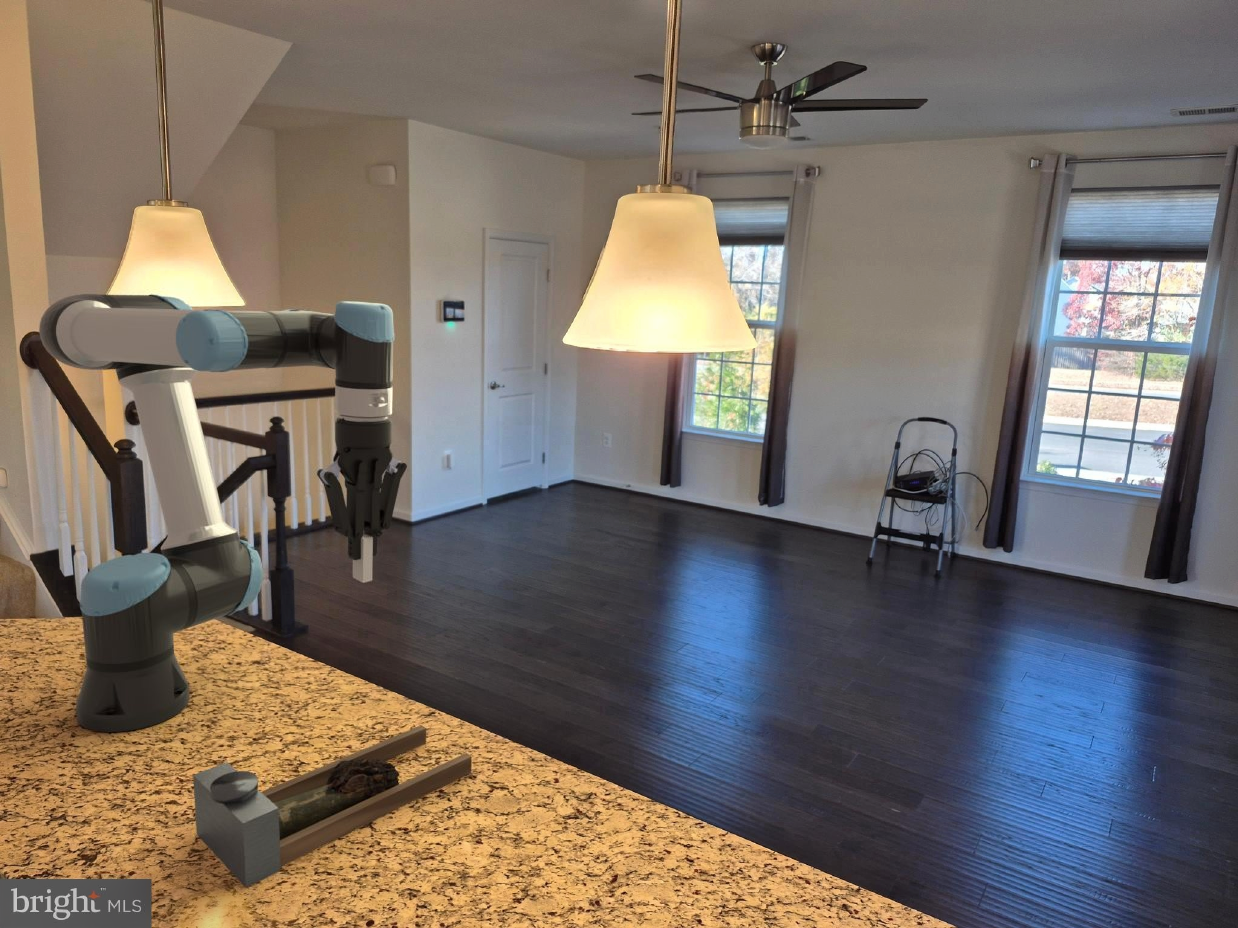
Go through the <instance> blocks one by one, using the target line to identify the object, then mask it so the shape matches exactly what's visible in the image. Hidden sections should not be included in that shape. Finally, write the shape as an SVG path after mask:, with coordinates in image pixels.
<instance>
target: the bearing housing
mask: <svg viewBox="0 0 1238 928" xmlns="http://www.w3.org/2000/svg"><path fill="white" fill-rule="evenodd" d="M192 776H193V777H192V778H193V779H192V780H193V794H194V797H193V798H194V811H195V828H196V829H195V830H196V836H197V837H198V838H199V839H200V840H201V841H202V842H203V843H204V844H205V846H206V847H207V848H208V849H209V850H210V851H211V852H212V853H213V854H214V855H215V856H216V857H217V858H218V859H219V861H220V862H221V863H222V864H223V865H224V866H225V867H226V868H227V869H228V870H229V871H230V872H231V874H232V875H233V876H234V877H235V878H236V879H237V880H238V881H239V882H240V883H241V884H242V885H243V886H244V888H245V889H247V888H249V887H251V886H253V885H255V884H257V883H258V882H261V881H263V880H265V879H266V878H268V877H271V876H273V875H275V874H277V873H279V872H281V870H282V866H281V863H280V836H279V809H278V807H277V806H276V805H275V804H274V803H272V802H271V801H270V800H269V799H268V798H267V797H266V796H265V795H263V794H262V793H261V792H262V791H260V790H259V778H258V775H257V774H255V773H253V772H250V771H247V770H236V769H235V768H234V767H233V766H232V765H231V764H230V763H229V762H228V761H226V762H224V763H221V764H218V765H215V766H213V767H211V768H208V769H206V770H202V771H200V772H197V773H195V774H193V775H192Z"/></svg>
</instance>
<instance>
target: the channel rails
mask: <svg viewBox="0 0 1238 928" xmlns="http://www.w3.org/2000/svg"><path fill="white" fill-rule="evenodd" d="M426 744H427V727H425V726H423V725H422V724H421V725H418V726H416V727H414V728H413V727H412V728H411V729H408V730H406V731H404V732H401V733H399V734H396V735H395V736H392V737H389V738H387V739H385V740H382V741H380V742H378V743H375V744H373V745H370V746H367V747H365V748H363V749H360V750H358V751H355V752H354V753H351V754H348V755H347V756H344V757H342V758H339V759H336V760H334V761H332V762H329V763H327V764H324V765H322V766H320V767H317V768H315V769H312V770H310V771H308V772H306V773H303V774H301V775H299V776H298V775H297V776H296V777H294V778H292V779H288V780H287V781H283V782H282V783H279V784H276V785H274V786H271V787H270V788H267V789H265V790H263V791H260V792H261V793H262V794H263V795H265V796H266V797H267V798H268V799H269V800H270V801H271V802H272V803H275V802H279V801H282V800H285V799H288V798H290V797H293V796H296V795H300V794H302V793H305V792H309V791H311V790H314V789H317V788H320V787H323V786H326V784H327V781H328V778H329V777H330V774H331V772H332V770H333V769H334V768H335V766H336V765H337V764H339V763H340V761H344V760H345V761H349V760H353V759H354V760H358V759H359V760H361V759H363V758H365V759H370V760H372V759H379V760H382V761H383V762H384V763H386V762H387V761H389V760H392V759H394V758H397V757H399V756H401V755H403V754H405V753H407V751H408V752H409V751H412V750H415V749H418V748H419V747H421V746H424V745H426ZM400 754H401V755H400ZM398 755H399V756H398ZM396 756H397V757H396ZM472 758H473V757H472V755H471V754H468V753H467V752H465V753H463V754H461V755H459V756H456V757H454V758H453V759H450V760H448V761H446V762H444V763H442V764H440V765H437V766H436V767H433V768H430V769H429V770H427V771H424V772H423V773H421V774H418V775H416V776H415V777H412V778H410V779H408V780H406V781H403V782H401V783H399V785H397V786H395V787H393V788H390V789H388V790H386V791H384V792H382V793H380V794H378V795H376V796H373V797H371V798H369V799H367V800H365V801H363V802H361V803H359V804H356V805H354V806H352V807H350V808H348V809H346V810H344V811H342V812H339V813H337V814H335V815H333V816H331V817H329V818H327V819H325V820H322V821H320V822H318V823H316V824H314V825H312V826H310V827H307V828H305V829H303V830H301V831H299V832H297V833H295V834H293V835H290V836H288V837H286V838H284V839H282V840H280V863H281V867H283V866H285V865H288V864H289V863H291V862H293V861H295V860H297V859H300V858H301V857H304V856H306V855H307V854H310V853H311V852H314V851H316V850H318V849H320V848H322V847H324V846H326V845H328V844H330V843H332V842H333V841H336V840H338V839H340V838H342V837H344V836H346V835H348V834H350V833H352V832H354V831H355V830H358V829H360V828H362V827H364V826H367V825H368V824H370V823H372V822H374V821H376V820H378V819H380V818H383V817H385V816H386V814H387V815H388V814H390V813H393V812H395V811H397V810H399V809H400V807H401V808H402V806H403V807H405V806H407V805H409V804H410V803H413V802H415V801H417V800H419V799H421V798H423V797H424V796H426V795H427V796H428V795H429V794H431V793H433V792H435V791H437V790H439V789H441V788H443V787H446V786H447V785H449V784H451V783H453V782H455V781H457V780H459V779H461V778H463V777H465V776H467V775H469V774H472ZM422 796H423V797H422ZM412 801H413V802H412ZM406 804H407V805H406ZM396 809H397V810H396Z"/></svg>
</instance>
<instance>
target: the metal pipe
mask: <svg viewBox="0 0 1238 928" xmlns="http://www.w3.org/2000/svg"><path fill="white" fill-rule="evenodd" d="M399 777H400V772H399V771H398V770H396V766H395V765H393V764H392V763H391V762H383V761H382V760H379V759H372V760H370V759H365V758H363V759H361V760H359V759H358V760H354V759H353V760H349V761H345V760H344V761H340V763H339V764H337V765H336V766H335V768H334V769H333V770H332V772H331V774H330V777H329V778H328V781H327V784H326V786H323V787H320V788H317V789H314V790H311V791H309V792H305V793H302V794H300V795H296V796H293V797H290V798H288V799H285V800H282V801H279V802H275V803H274V804H275V805H276V806H277V807H278V809H279V836H280V840H282V839H284V838H286V837H288V836H290V835H293V834H295V833H297V832H299V831H301V830H303V829H305V828H307V827H310V826H312V825H314V824H316V823H318V822H320V821H322V820H325V819H327V818H329V817H331V816H333V815H335V814H337V813H339V812H342V811H344V810H346V809H348V808H350V807H352V806H354V805H356V804H359V803H361V802H363V801H365V800H367V799H369V798H371V797H373V796H376V795H378V794H380V793H382V792H384V791H386V790H388V789H390V788H393V787H395V786H397V785H399V784H400V783H399V780H400V779H399Z"/></svg>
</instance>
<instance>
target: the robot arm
mask: <svg viewBox="0 0 1238 928" xmlns="http://www.w3.org/2000/svg"><path fill="white" fill-rule="evenodd" d="M334 312H335V313H333V314H332V313H325V312H319V311H311V310H309V309H304V308H302V309H297V308H295V309H294V308H293V309H292V308H291V309H284V310H283V309H282V310H261V311H258V310H257V311H256V310H223V309H194V308H192V307H191V305H189V304H187V303H186V302H185V301H184V300H182V299H180V298H177V297H172V296H163V295H159V294H153V293H152V294H147V295H146V294H144V295H143V294H99V293H82V294H75V295H69V296H67V297H64V298H62V299H59V300H57V301H55V302H53V303H52V304H51V305H50V306H49V307H48V308H46V310H45V311H44V313H43V314H42V316H41V319H40V322H39V326H38V327H39V329H38V331H39V338H40V340H41V343H42V346H43V347H44V348H45V350H46V352H47V353H48V354H49V355H51V357H53V358H54V360H57V361H58V362H60V363H62V364H64V365H66V366H69V367H72V368H76V369H79V370H80V369H81V370H92V371H93V370H94V371H95V370H97V371H98V370H99V371H100V370H101V371H102V370H103V371H104V370H105V371H106V370H107V371H108V370H115V372H116V376H117V381H118V383H119V385H121V386H122V387H124V388H126V389H127V390H129V391H131V393H132V395H133V400H134V405H135V409H136V412H137V415H138V420H139V423H140V425H139V426H140V429H141V432H142V436H143V441H144V445H145V448H146V453H147V455H148V460H149V465H150V467H151V472H152V475H153V476H152V477H153V480H154V485H155V488H156V491H157V492H156V493H157V496H158V500H159V504H160V507H161V513H162V516H163V520H164V523H165V529H166V532H167V537H166V539H165V540H164V541H163V544H162V545H161V547H160V551H161V553H155V552H141V553H140V552H139V553H136V554H133V555H132V554H127V555H122V556H118V557H115V558H112V559H109V560H107V561H104V562H102V563H100V564H98V565H95V566H94V567H93V568H91V569H90V570H89V571H87V573H85V576H84V577H83V578H82V580H81V583H80V600H79V608H80V611H81V616H82V617H81V619H82V627H83V628H82V629H83V638H84V639H83V640H84V641H83V643H84V651H85V659H86V660H85V661H86V664H85V665H86V670H85V673H84V676H83V681H82V683H81V686H80V690H79V694H78V697H77V701H76V704H75V705H76V706H75V709H76V719H77V720H76V721H77V723H78V724H79V725H80V726H81V727H83V728H85V729H88V730H91V731H94V732H100V733H101V732H102V733H103V732H104V733H118V732H119V733H120V732H121V733H122V732H129V731H135V730H139V729H143V728H144V729H145V728H148V727H151V726H155V725H157V724H160V723H162V722H164V721H167V720H170V719H172V718H173V717H175V716H176V715H178V714H180V713H181V712H182V711H183V710H184V709H186V707H187V706H188V704H189V702H190V698H191V697H190V686H189V683H188V680H187V677H186V675H185V674H184V672H183V669H182V668H181V665H180V664H179V662H178V660H177V657H176V655H175V645H174V644H175V643H174V634H175V633H177V632H181V631H184V630H187V629H190V628H192V627H195V626H198V625H201V624H206V623H207V622H210V621H213V620H216V619H219V618H222V617H228V616H231V615H234V613H236V612H238V611H241V610H243V609H246V608H247V607H249V606H250V605H252V604H253V603H254V601H255V600H256V599H257V597H258V595H259V593H260V592H261V589H262V584H263V581H264V580H263V579H264V570H263V564H262V560H261V556H260V554H259V551H257V550H256V549H255V548H254V545H253V544H251V542H249V541H246V540H243V539H240V536H239V533H238V532H239V531H238V529H236V528H235V527H233V526H232V525H229V524H228V523H227V522H225V516H224V514H223V508H222V505H221V501H220V497H219V492H218V488H217V484H216V481H215V476H214V472H213V469H212V465H211V461H210V457H209V452H208V449H207V445H206V440H205V436H204V432H203V427H202V424H201V420H200V415H199V412H198V407H197V403H196V400H195V396H194V395H195V394H194V392H193V388H192V381H193V380H194V379H195V377H196V376H197V375H198V373H199V372H211V373H224V372H230V371H241V370H254V369H255V370H256V369H273V368H274V369H276V368H277V369H278V368H280V369H281V368H293V367H294V368H295V367H319V368H325V369H332V370H335V372H334V373H335V378H334V379H335V380H334V384H335V390H334V412H335V414H336V415H338V416H337V417H336V419H334V423H335V424H334V434H335V435H334V441H335V442H334V443H335V447H336V450H335V454H333V455H334V456H333V459H332V461H333V462H332V463H331V464H330V465H329V466H327V468H325V469H324V468H320V469H318V470H317V472H316V476H317V478H319V480H320V482H321V483H322V484H323V486H324V491H325V495H326V499H327V503H328V507H329V511H330V515H331V520H332V523H333V528H334V532H336V533H337V534H338V535H339V534H340V535H341V536H344V537H347V556H348V558H349V559H351V560H352V578H353V579H355V580H357V581H359V582H361V583H363V584H364V583H368V582H372V581H373V557H375V556H377V553H378V538H379V537H381V536H382V535H383V530H387V529H389V528H390V527H391V524H392V519H393V515H394V510H395V505H396V500H397V498H398V492H399V488H400V482H401V481H402V480H401V479H402V478H403V476H404V474H405V472H406V470H407V469H408V465H407V464H406V463H405V462H403V461H400V460H398V459H396V458H394V457H393V455H394V454H393V451H392V449H391V444H392V442H393V421H392V419H391V418H390V416H391V415H392V414H393V385H394V383H393V378H394V377H393V375H394V371H393V370H394V346H395V338H396V334H395V328H394V326H395V325H394V313H393V310H392V308H391V307H390V306H389V305H387V304H384V303H381V302H379V303H378V302H369V301H368V302H367V301H366V302H365V301H351V300H350V301H349V300H347V301H345V300H344V301H339V302H337V304H336V306H335V311H334ZM340 474H341V475H342V476H343V478H344V487H345V491H346V500H345V497H344V492H343V491H344V490H343V488H342V487H343V486H342V485H341V482H340V481H341V475H340Z"/></svg>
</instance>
